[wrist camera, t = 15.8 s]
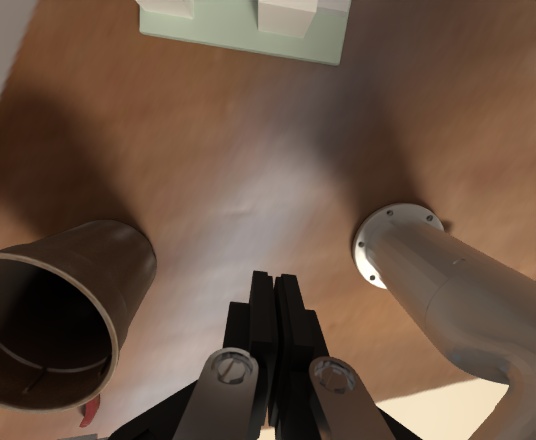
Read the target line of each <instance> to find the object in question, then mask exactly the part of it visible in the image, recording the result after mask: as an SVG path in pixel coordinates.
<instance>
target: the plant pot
mask: <svg viewBox="0 0 536 440" xmlns="http://www.w3.org/2000/svg"><path fill="white" fill-rule="evenodd" d="M156 268H157V261H156V258H155V257H154V254H153V251H152V248H151V245H150V243H149V242H148V240H147V239H146V238H145V237H144V236H143V235H142V234H141V233H140V232H139V231H137V230H136V229H134V228H133V227H131V226H129V225H127V224H125V223H122V222H119V221H115V220H109V219H102V220H96V221H91V222H87V223H85V224H82V225H80V226H77V227H74V228H72V229H69V230H66V231H63V232H60V233H58V234H55V235H52V236H49V237H46V238H44V239H41V240H38V241H35V242H32V243H29V244H20V245H15V246H11V247H8V248H5V249H2V250H0V408H3V409H6V410H11V411H15V412H21V413H30V414H46V413H56V412H61V411H66V410H69V409H73V408H76V407H78V406H81V405H83V404H85V403H87V402H88V401H90V400H92V399H93V398H95V397H96V396H97V395H98V394H100V393H101V392H102V391H103V389H104V388H105V387H106V386H107V384H108V383H109V381H110V380H111V378H112V376H113V374H114V372H115V370H116V367H117V364H118V360H119V352H120V350H121V348H122V346H123V344H124V342H125V339H126V336H127V332H128V327H129V326H130V324H131V322H132V320H133V318H134V316H135V314H136V312H137V310H138V308H139V306H140V304H141V302H142V300H143V298H144V297H145V295H146V293H147V291H148V289H149V287H150V286H151V284H152V282H153V280H154V278H155V274H156Z"/></svg>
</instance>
